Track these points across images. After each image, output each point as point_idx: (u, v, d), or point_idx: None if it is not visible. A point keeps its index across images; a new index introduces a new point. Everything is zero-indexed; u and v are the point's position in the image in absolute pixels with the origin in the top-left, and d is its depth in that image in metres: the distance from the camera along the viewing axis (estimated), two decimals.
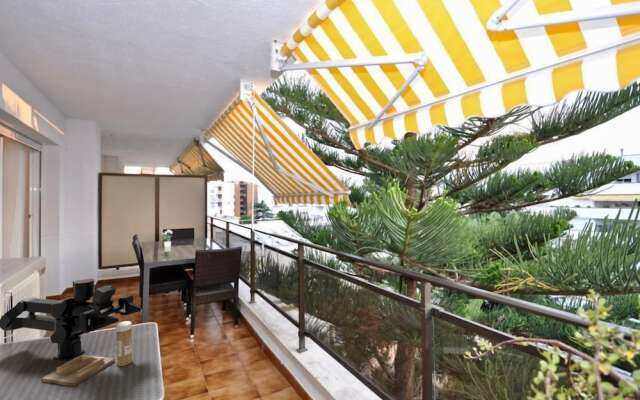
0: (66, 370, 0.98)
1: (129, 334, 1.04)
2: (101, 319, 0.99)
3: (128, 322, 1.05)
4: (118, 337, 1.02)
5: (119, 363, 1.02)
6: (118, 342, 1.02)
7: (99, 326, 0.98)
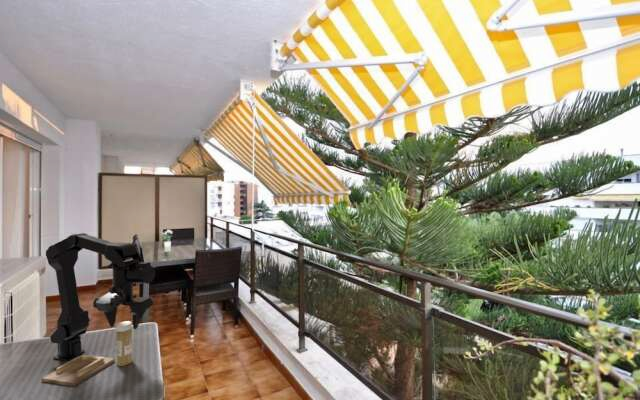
0: (66, 370, 0.98)
1: (129, 334, 1.04)
2: None
3: (128, 322, 1.05)
4: (118, 337, 1.02)
5: (119, 363, 1.02)
6: (118, 342, 1.02)
7: None
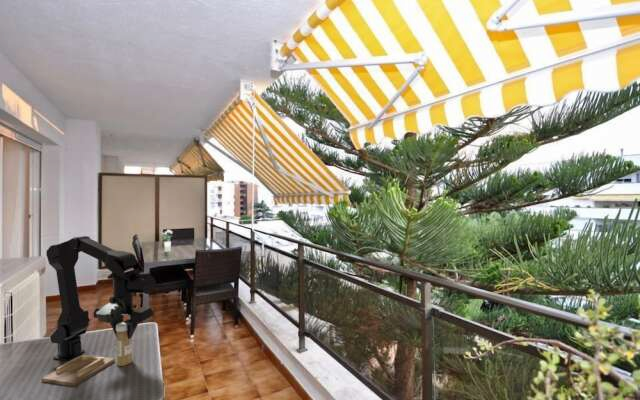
0: (66, 370, 0.98)
1: None
2: None
3: None
4: (118, 337, 1.02)
5: (119, 363, 1.02)
6: (118, 342, 1.02)
7: None
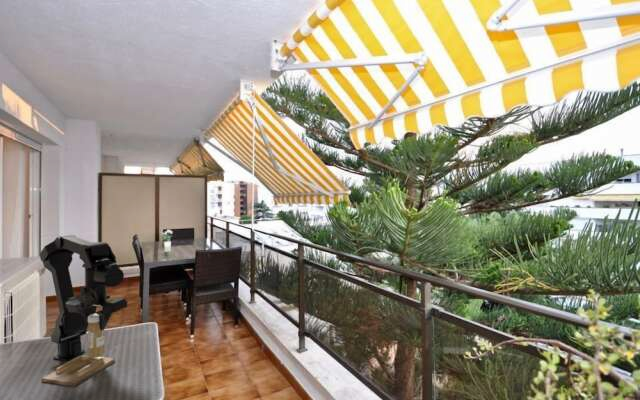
0: (66, 370, 0.98)
1: None
2: None
3: None
4: (90, 328, 0.99)
5: (91, 355, 0.99)
6: (90, 333, 0.99)
7: None
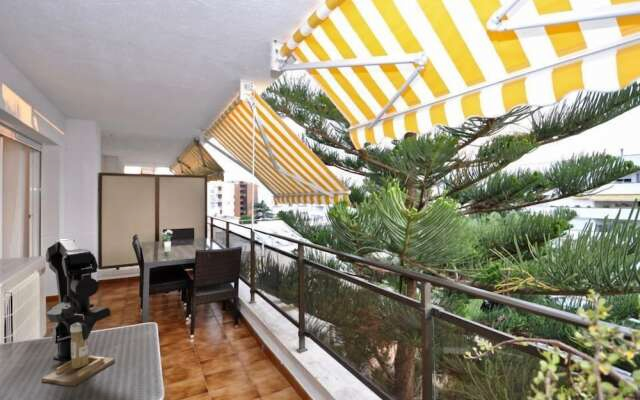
0: (66, 370, 0.98)
1: None
2: None
3: None
4: (72, 338, 0.97)
5: (73, 365, 0.97)
6: (72, 343, 0.97)
7: None
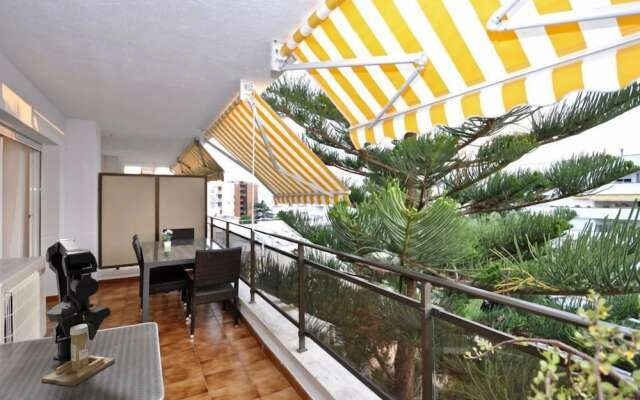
0: (66, 370, 0.98)
1: (84, 338, 0.99)
2: None
3: (84, 325, 1.00)
4: (72, 341, 0.97)
5: (73, 368, 0.97)
6: (72, 346, 0.97)
7: None
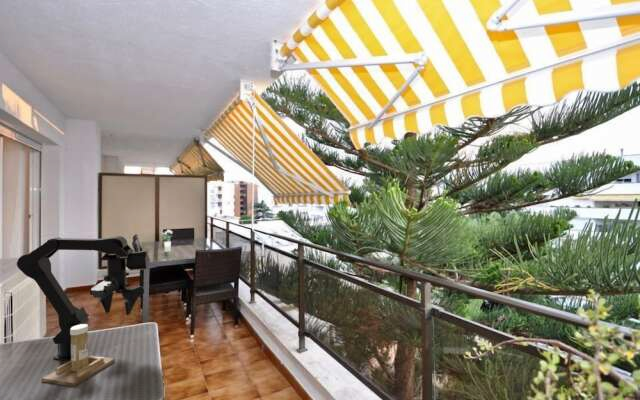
0: (66, 370, 0.98)
1: (84, 338, 0.99)
2: None
3: (84, 325, 1.00)
4: (72, 341, 0.97)
5: (73, 368, 0.97)
6: (72, 346, 0.97)
7: None
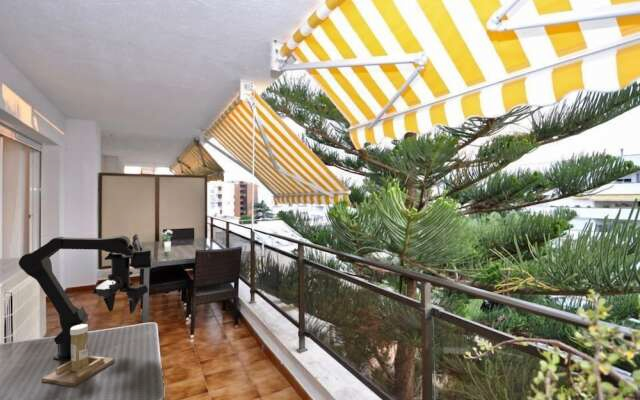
0: (66, 370, 0.98)
1: (84, 338, 0.99)
2: None
3: (84, 325, 1.00)
4: (72, 341, 0.97)
5: (73, 368, 0.97)
6: (72, 346, 0.97)
7: None
